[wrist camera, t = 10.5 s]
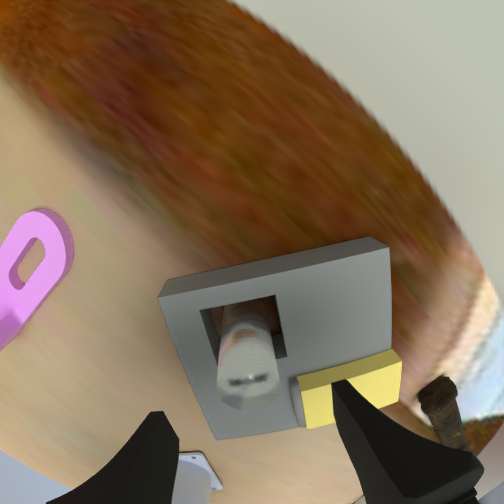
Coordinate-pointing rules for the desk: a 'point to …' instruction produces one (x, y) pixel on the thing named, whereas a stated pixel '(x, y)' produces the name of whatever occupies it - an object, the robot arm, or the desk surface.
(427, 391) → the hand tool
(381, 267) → the plate
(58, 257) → the bracket
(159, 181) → the desk surface
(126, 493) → the robot arm
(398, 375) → the latch flap
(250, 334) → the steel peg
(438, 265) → the desk surface
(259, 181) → the desk surface
